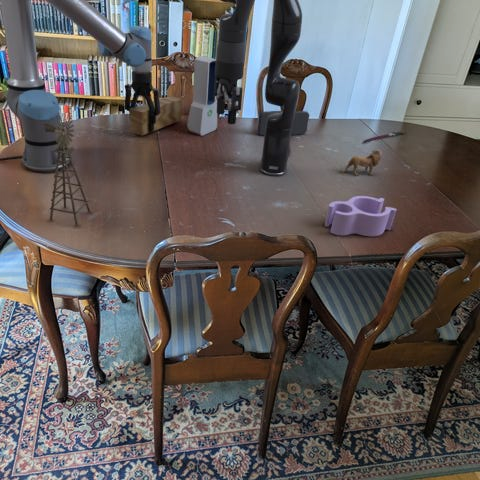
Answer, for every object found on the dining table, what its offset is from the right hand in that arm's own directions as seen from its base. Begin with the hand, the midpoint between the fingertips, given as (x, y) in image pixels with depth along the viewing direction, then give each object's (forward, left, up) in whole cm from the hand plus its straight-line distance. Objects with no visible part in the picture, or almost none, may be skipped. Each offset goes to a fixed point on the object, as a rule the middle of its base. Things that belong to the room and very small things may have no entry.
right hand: (225, 118), depth 131 cm
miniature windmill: (+36, -25, -28) cm, 52 cm away
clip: (-20, +38, -28) cm, 51 cm away
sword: (-105, +12, -28) cm, 109 cm away
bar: (-32, -61, -26) cm, 74 cm away
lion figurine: (-60, +21, -28) cm, 69 cm away
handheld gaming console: (-70, -22, -28) cm, 79 cm away
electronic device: (-46, -47, -28) cm, 71 cm away
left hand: (-23, -59, -26) cm, 69 cm away
